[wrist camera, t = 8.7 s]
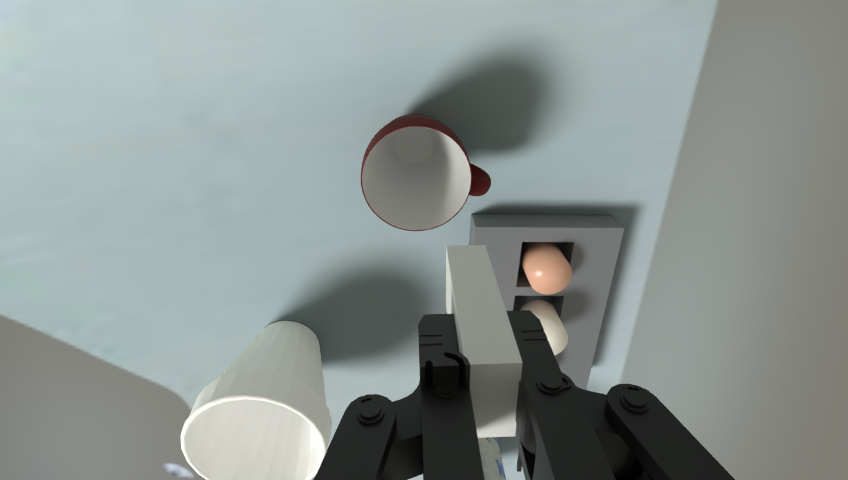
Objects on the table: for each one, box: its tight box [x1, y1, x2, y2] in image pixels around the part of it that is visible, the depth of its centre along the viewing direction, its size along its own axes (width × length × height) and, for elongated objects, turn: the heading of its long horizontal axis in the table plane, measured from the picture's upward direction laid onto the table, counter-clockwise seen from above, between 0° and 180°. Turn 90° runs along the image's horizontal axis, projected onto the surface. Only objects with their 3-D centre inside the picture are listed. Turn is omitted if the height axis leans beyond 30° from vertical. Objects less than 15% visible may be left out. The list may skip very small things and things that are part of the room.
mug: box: [361, 114, 491, 231], centre depth 39 cm, size 10×8×10 cm
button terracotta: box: [520, 242, 572, 295], centre depth 46 cm, size 4×4×4 cm
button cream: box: [520, 300, 568, 355], centre depth 47 cm, size 4×4×4 cm
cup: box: [181, 321, 332, 480], centre depth 46 cm, size 12×12×14 cm
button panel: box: [469, 214, 624, 389], centre depth 50 cm, size 20×14×3 cm
